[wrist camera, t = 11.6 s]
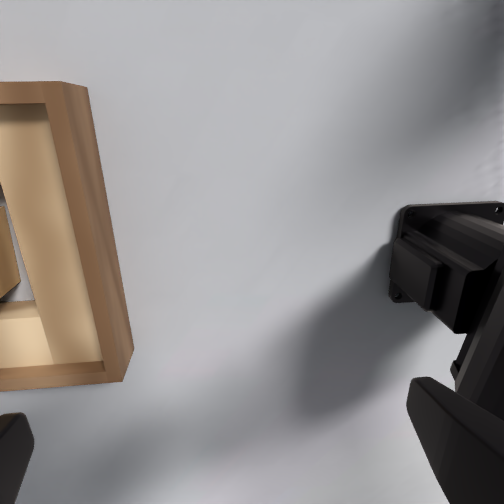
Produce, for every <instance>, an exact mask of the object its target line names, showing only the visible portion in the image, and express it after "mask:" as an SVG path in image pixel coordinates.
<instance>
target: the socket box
mask: <svg viewBox="0 0 504 504" xmlns="http://www.w3.org/2000/svg"><path fill="white" fill-rule="evenodd" d="M0 182H1V186H2V189H3V193H4V196H5V199H6V203H7V206H8V210H9V213H10V216H11V220H12V223H13V227H14V230H15V233H16V237H17V240H18V244H19V247H20V250H21V254H22V257H23V261H24V264H25V267H26V271H27V274H28V278H29V281H30V284H31V288H32V291H33V295H34V298H35V300H33V301H17V302H0V392H1V391H13V390H26V389H38V388H51V387H63V386H75V385H88V384H100V383H113V382H122V381H123V379H124V376H125V373H126V370H127V368H128V365H129V362H130V359H131V356H132V354H133V351H134V345H133V339H132V334H131V328H130V323H129V317H128V312H127V306H126V300H125V295H124V289H123V284H122V278H121V273H120V267H119V262H118V256H117V251H116V245H115V240H114V234H113V228H112V223H111V217H110V212H109V206H108V201H107V195H106V190H105V184H104V179H103V173H102V168H101V162H100V156H99V151H98V145H97V140H96V134H95V129H94V123H93V118H92V112H91V107H90V101H89V95H88V90H87V87H84V86H79V85H75V84H71V83H66V82H62V81H38V82H0Z"/></svg>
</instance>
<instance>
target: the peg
mask: <svg viewBox="0 0 504 504" xmlns="http://www.w3.org/2000/svg"><path fill="white" fill-rule="evenodd" d="M20 281H21V280H20V275H19V270H18V266H17V261H16V257H15V252H14V248H13V243H12V239H11V234H10V229H9V225H8V220H7V216H6V211H5V207H4V206H0V298H1V297H2V296H4V295H5V294H6V293H7V292H8V291H10V290H11V289H12V288H13V287H14V286H16V285H17V284H18V283H19V282H20Z"/></svg>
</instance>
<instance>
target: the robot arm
mask: <svg viewBox="0 0 504 504" xmlns="http://www.w3.org/2000/svg"><path fill="white" fill-rule="evenodd" d="M497 207H498V210H497V211H496V212H495V210H496V208H497ZM410 211H412V212H413V213H412V215H411V216H410V217H408V213H409V212H410ZM503 222H504V203H502V202H499V201H485V202H462V203H439V204H415V205H407V206H405V207H404V208H403V209H402V210H401V213H400V220H399V227H398V233H397V239H396V240H395V242H394V246H393V253H392V260H391V267H390V273H389V277H390V279H391V280H390V287H389V298H390V299H391V300H392V301H393V302H395V303H404V302H416V303H417V304H418V305H419V306H420V307H421V308H422V309H423V310H424V311H426V312H432V313H433V314H434V315H435V316H436V317H437V318H438V319H439V320H441V321H442V322H443V323H444V324H445V325H446V326H447V327H448V328H449V329H450V330H452V331H453V332H454V333H455V334H464V333H466V334H467V335H466V338H465V340H464V343H463V345H462V347H461V350H460V352H459V355H458V357H457V359H456V360H454V361H453V363H452V365H451V368H450V371H451V374H452V376H453V378H454V380H455V392H454V391H453V390H451V389H449V388H448V387H446V386H444V385H443V384H441V383H439V382H438V381H436V380H434V379H433V378H431V377H418V378H413V379H412V380H411V383H410V387H409V392H408V397H407V403H406V406H407V412H408V415H409V417H410V419H411V422H412V424H413V426H414V428H415V431H416V433H417V435H418V438H419V440H420V442H421V445H422V447H423V449H424V452H425V454H426V456H427V459H428V461H429V463H430V466H431V468H432V470H433V472H434V474H435V477H436V479H437V481H438V483H439V485H440V486H441V488H442V490H443V492H444V494H445V496H446V498H447V500H448V501H449V503H450V504H504V225H503ZM397 293H399V295H398V296H396V297H395V295H396V294H397ZM33 449H34V436H33V434H32V431H31V428H30V425H29V422H28V420H27V417H26V415H25V414H24V413H21V412H19V413H8V414H3V415H1V416H0V504H15V501H16V498H17V495H18V492H19V489H20V487H21V484H22V481H23V478H24V475H25V472H26V469H27V467H28V464H29V461H30V458H31V455H32V452H33Z"/></svg>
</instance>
